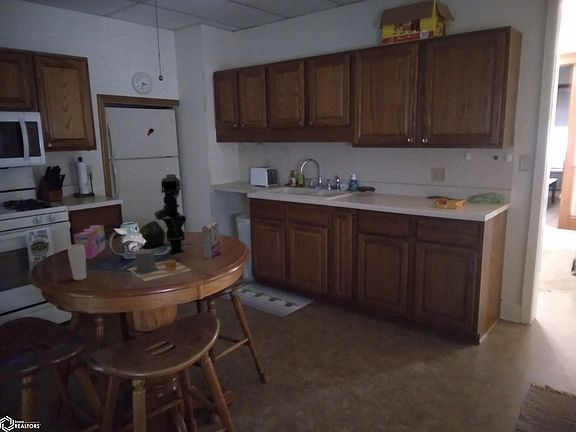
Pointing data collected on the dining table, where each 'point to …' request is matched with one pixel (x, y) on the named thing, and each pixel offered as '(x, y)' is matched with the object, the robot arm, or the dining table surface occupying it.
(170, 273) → the birch board
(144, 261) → the charcoal cover
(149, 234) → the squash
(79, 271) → the drinking glass
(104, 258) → the dining table surface
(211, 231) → the candy bar box
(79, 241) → the gum box
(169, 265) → the orange block
